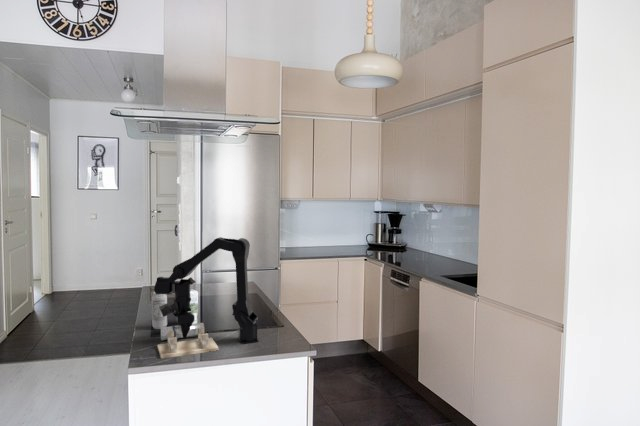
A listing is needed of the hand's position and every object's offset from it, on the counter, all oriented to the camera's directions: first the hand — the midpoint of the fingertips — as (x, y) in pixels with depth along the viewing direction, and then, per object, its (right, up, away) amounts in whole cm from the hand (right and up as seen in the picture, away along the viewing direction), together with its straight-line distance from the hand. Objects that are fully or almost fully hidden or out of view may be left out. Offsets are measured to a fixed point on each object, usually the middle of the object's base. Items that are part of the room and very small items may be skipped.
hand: (182, 333), depth 178 cm
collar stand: (+5, -2, -12) cm, 13 cm away
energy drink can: (-14, -1, +13) cm, 18 cm away
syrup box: (-3, -1, +18) cm, 18 cm away
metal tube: (0, -2, 0) cm, 2 cm away
